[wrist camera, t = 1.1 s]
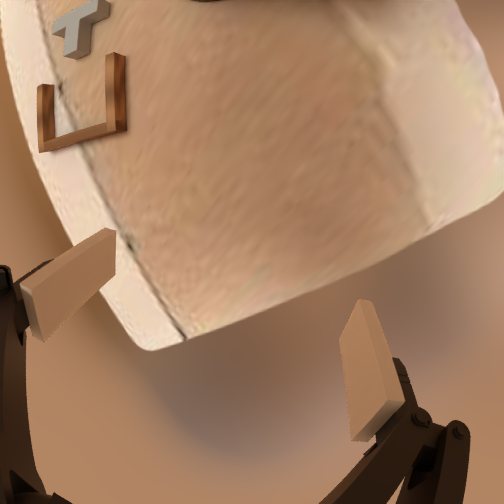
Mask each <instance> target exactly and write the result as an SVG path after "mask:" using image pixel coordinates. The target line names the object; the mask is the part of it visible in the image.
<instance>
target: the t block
mask: <svg viewBox="0 0 504 504" xmlns="http://www.w3.org/2000/svg"><path fill="white" fill-rule="evenodd" d="M109 10H110V3H109V2H107V1H105V0H91V1H89V2H87V3H85V4H83V5H81V6H79V7H77V8H75V9H73V10H72V11H70V12H68V13H66V14H64V15H63V16H61V17H59V18H57V19H56V20H54V22H53V29H52V35H56V36H60V37H63V38H65V41H64V52H63V56H64V57H68V58H73V59H79V58H81V57H83V56H85V55H88V54H90V42H91V30H92V24H93V23H96V22H98V21H100V20H103V19H105V18H107V17H109Z"/></svg>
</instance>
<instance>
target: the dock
mask: <svg viewBox="0 0 504 504" xmlns="http://www.w3.org/2000/svg"><path fill="white" fill-rule="evenodd" d="M105 94H106V121H107V122H106V123H102V124H99V125H95V126H92V127H88V128H85V129H82V130H79V131H75V132H72V133H69V134H66V135H63V136H60V137H57V138H55V128H54V85H49V84H41V85H40V86H38V87H37V131H38V147H39V153H42V152H48V151H52V150H56V149H59V148H62V147H65V146H68V145H72V144H75V143H79V142H82V141H86V140H90V139H93V138H97V137H101V136H105V135H109V134H113V133H118V132H122V131H127V125H126V105H125V56H123V55H120V54H117V53H115V52H113V53H111V54H108V55H106V64H105Z"/></svg>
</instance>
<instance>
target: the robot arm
mask: <svg viewBox="0 0 504 504" xmlns="http://www.w3.org/2000/svg"><path fill="white" fill-rule="evenodd" d="M194 1H217V0H194ZM115 258H116V231H115V230H111V229H108V228H104V229H102V230H100V231H99V232H97V233H95V234H94V235H92V236H90V237H89V238H87V239H85V240H84V241H82V242H81V243H79V244H77V245H76V246H74V247H73V248H71V249H69V250H68V251H66V252H65V253H63V254H62V255H60V256H59V257H57V258H56V259H52V260H49V261H46V262H43V263H42V264H41V265H39V266H37V268H34V269H33V270H32V271H31V272H29V273H27V274H26V275H24V276H23V277H21V278H20V279H19V280H18V281H16V282H15V283H13V279H12V274H11V269H10V268H9V267H8V266H6V265H0V504H72V503H71V502H69V501H67V500H65V499H64V498H62V497H61V496H59V495H57V494H56V493H53V495H52V496H51V495H47V494H46V491H45V488H44V485H43V483H42V480H41V478H40V477H39V475H38V473H37V470H36V466H35V462H34V456H33V451H32V445H31V437H30V430H29V421H28V410H27V396H26V337H27V336H26V331H25V329H26V328H27V327H29V326H30V329H31V332H32V336H34V337H36V338H37V339H39V340H40V341H42V342H45V341H46V340H47V339H48V338H49V337H50V336H51V335H52V334H53V333H54V332H55V331H56V330H57V329H58V328H59V327H60V326H61V325H62V324H63V323H64V322H65V321H66V320H67V319H68V318H69V317H70V316H71V315H72V314H73V313H74V312H75V311H77V310H78V309H79V308H80V307H81V306H82V305H83V304H84V303H85V302H86V301H87V300H88V299H89V298H90V297H91V296H92V295H94V294H95V293H96V292H97V291H98V290H99V289H100V288H101V287H102V286H103V285H105V284H106V283H107V282H108V281H109V280H110V279H111V278H112V277H113V276H115ZM339 343H340V349H341V357H342V364H343V371H344V379H345V387H346V395H347V403H348V413H349V424H350V433H351V441H362V442H368V441H369V440H370V439H371V438H372V437H373V436H374V435H376V443H375V444H374V445H373V446H372V447H371V448H370V449H368V450H367V451H366V452H365V453H364V454H363V455H364V457H363V458H362V459H361V460H360V461H359V463H358V464H357V465H356V466H355V467H354V468H353V469H352V470H351V471H350V473H349V474H348V475H347V476H346V477H345V478H344V479H343V480H342V481H341V482H340V483H339V484H338V485H337V486H336V487H335V489H333V490H332V491H331V492H330V493H329V494H328V495H327V496H326V497H325V498H324V499H323V500H322V501H321V502H320V503H319V504H386V503H387V502H388V500H389V499H390V498H391V496H392V495H393V494H394V492H395V491H396V489H397V488H398V486H399V485H400V483H401V482H402V480H403V479H404V482H403V485H402V487H401V490H400V493H399V496H398V499H397V501H396V504H463V498H464V493H465V486H466V479H467V472H468V463H469V452H470V431H469V429H468V427H467V426H466V425H465V424H464V423H462V422H461V421H458V420H454V421H451V422H450V423H449V424H448V425H447V426H446V427H444V426H441V425H438V424H435V423H433V422H432V418H431V416H430V415H429V413H428V412H427V411H426V410H424V409H422V408H420V407H418V405H417V401H416V398H415V395H414V392H413V389H412V386H411V384H410V380H409V377H408V374H407V371H406V368H405V366H404V365H403V364H402V362H401V361H400V360H399V358H393V357H392V356H391V353H390V350H389V347H388V345H387V342H386V339H385V336H384V333H383V330H382V327H381V325H380V322H379V319H378V317H377V314H376V311H375V309H374V306H373V303H372V302H371V301H368V300H364V299H360V298H359V299H358V301H357V303H356V305H355V307H354V309H353V312H352V314H351V316H350V318H349V320H348V322H347V324H346V326H345V328H344V330H343V332H342V334H341V336H340V338H339ZM404 477H405V478H404Z"/></svg>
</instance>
